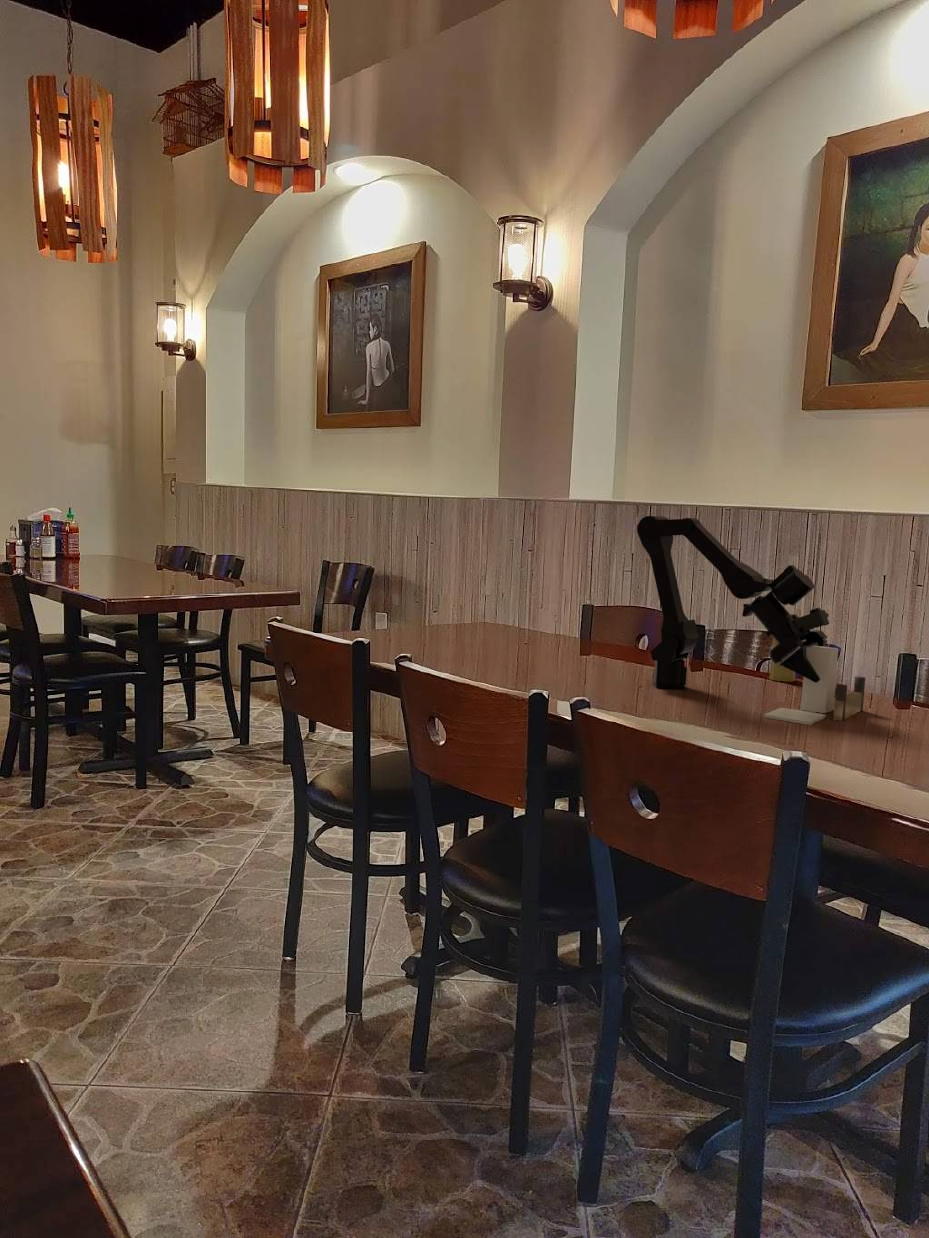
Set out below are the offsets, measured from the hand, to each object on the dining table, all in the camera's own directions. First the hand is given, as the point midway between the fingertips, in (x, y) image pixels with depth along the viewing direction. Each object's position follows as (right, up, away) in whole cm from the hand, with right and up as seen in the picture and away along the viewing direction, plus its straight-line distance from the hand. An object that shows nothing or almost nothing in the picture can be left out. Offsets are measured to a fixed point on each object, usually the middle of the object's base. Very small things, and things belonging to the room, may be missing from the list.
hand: (825, 678), depth 191 cm
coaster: (-8, -7, -6) cm, 13 cm away
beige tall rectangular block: (-1, -7, +2) cm, 7 cm away
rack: (+4, -7, -2) cm, 8 cm away
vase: (+3, -3, +35) cm, 35 cm away
